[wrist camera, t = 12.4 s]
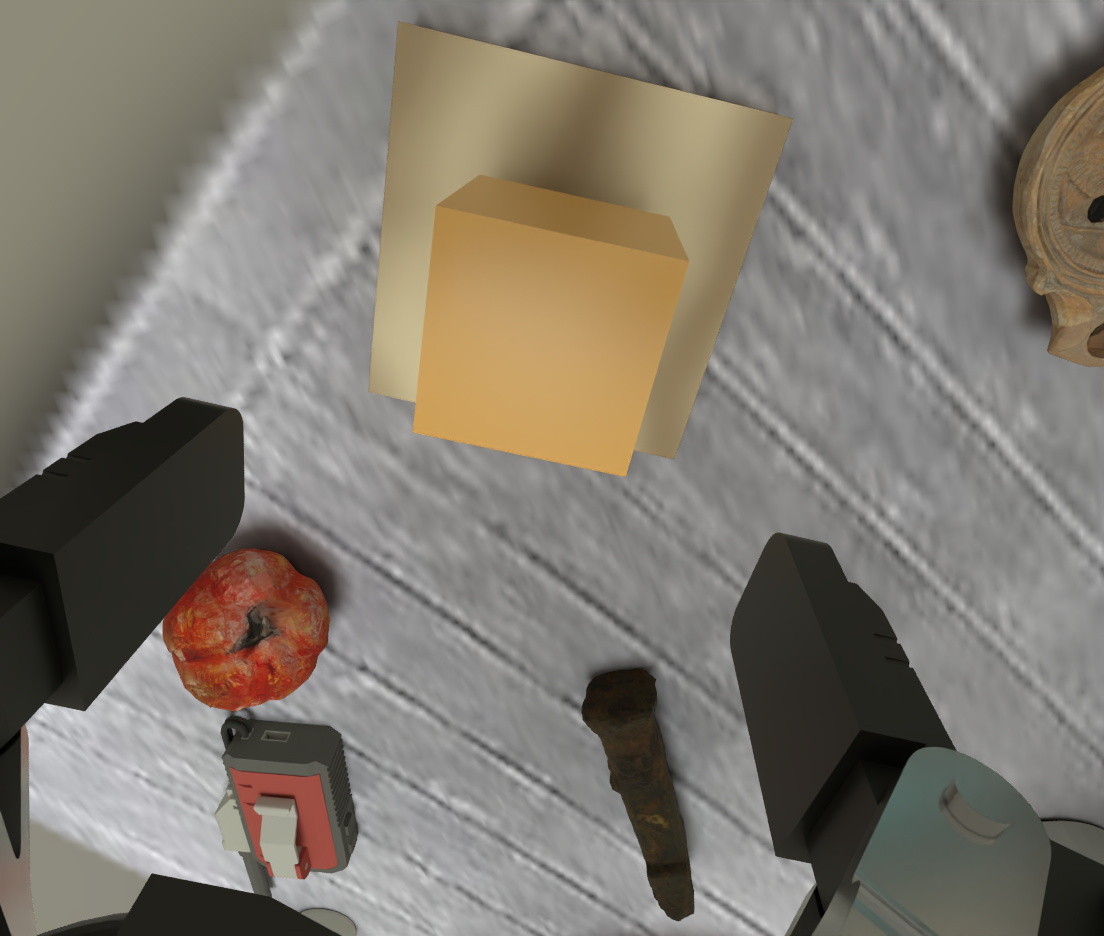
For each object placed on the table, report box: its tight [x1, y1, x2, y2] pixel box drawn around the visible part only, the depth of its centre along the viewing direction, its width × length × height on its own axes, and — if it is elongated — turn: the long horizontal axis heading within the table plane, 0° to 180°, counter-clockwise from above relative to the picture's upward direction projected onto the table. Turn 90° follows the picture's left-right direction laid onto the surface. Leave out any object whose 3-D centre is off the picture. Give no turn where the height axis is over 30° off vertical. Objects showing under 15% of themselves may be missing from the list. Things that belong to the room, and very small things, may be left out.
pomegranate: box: [163, 548, 330, 711], centre depth 33 cm, size 7×7×10 cm
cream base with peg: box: [368, 21, 793, 459], centre depth 22 cm, size 13×13×10 cm
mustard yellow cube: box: [413, 175, 689, 477], centre depth 20 cm, size 6×6×6 cm
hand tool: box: [582, 669, 694, 921], centre depth 40 cm, size 19×4×5 cm, turn 13°
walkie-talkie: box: [215, 716, 358, 898], centre depth 44 cm, size 9×4×20 cm
